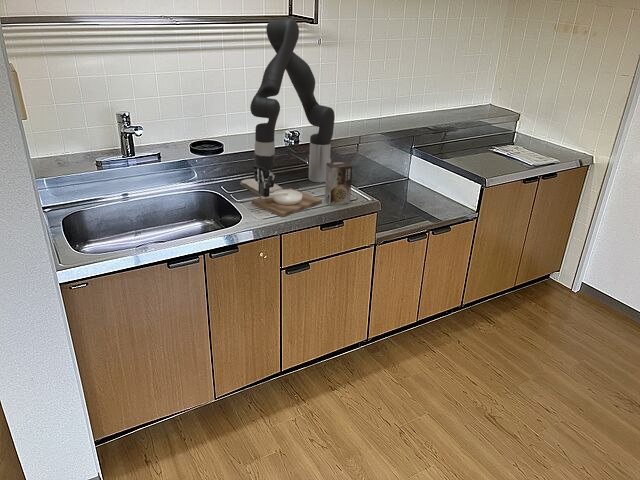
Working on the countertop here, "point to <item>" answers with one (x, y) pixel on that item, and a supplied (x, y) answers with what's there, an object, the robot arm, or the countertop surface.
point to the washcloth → (257, 186)
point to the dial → (282, 196)
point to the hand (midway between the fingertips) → (263, 194)
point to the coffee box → (338, 183)
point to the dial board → (286, 209)
